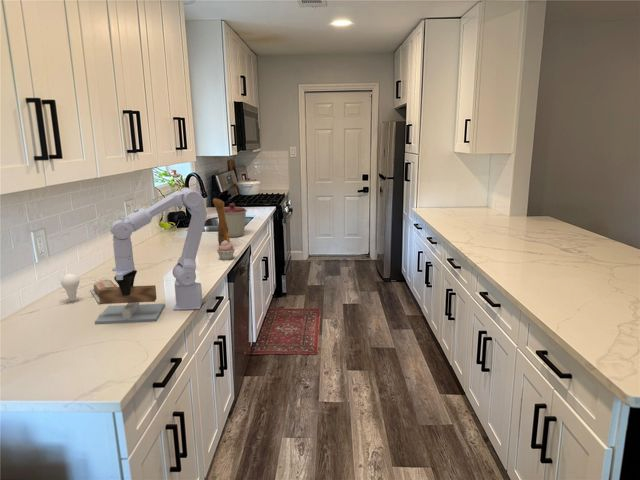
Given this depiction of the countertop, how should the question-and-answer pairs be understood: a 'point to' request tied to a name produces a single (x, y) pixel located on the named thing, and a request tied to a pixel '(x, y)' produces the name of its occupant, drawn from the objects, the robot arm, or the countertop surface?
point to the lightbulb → (70, 285)
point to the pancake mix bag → (221, 221)
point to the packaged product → (98, 285)
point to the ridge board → (137, 317)
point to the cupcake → (225, 251)
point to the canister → (235, 220)
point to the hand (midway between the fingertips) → (127, 293)
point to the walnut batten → (136, 295)
